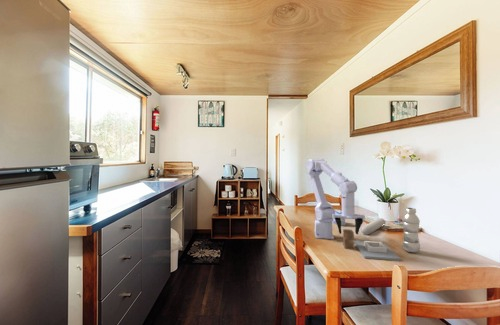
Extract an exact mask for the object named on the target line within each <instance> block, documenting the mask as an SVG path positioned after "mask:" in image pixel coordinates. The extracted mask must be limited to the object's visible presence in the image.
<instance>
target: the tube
mask: <svg viewBox="0 0 500 325" xmlns="http://www.w3.org/2000/svg"><path fill="white" fill-rule="evenodd" d="M383 224H385V225H386V220H385V219H384V218H382V217H378V218H377V219H375V220H373V221H371V222H369V223H367V224H364V225H363V226H362V227H360V228H361V231H360V232H361V233H362V234H363V235H366V236H369V235H370V234H372V233H374V232H376V231H377V230H379V229H380V227H381V226H382V225H383ZM382 227H383V226H382ZM382 227H381V228H382Z"/></svg>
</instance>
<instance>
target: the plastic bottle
mask: <svg viewBox="0 0 500 325" xmlns="http://www.w3.org/2000/svg"><path fill="white" fill-rule="evenodd" d="M416 213H417V210H416V208H414V207H406V208H405V214H404V215H403V216H402V219H401V220H402V227H403V239H402V248H403V250H405V251H407V252H410V253H412V254H415V253H419V252H420V250H421V244H420V240H419V238H420V237H419V228H420V221H421V220H420V218H419V217H418V216H417V214H416Z"/></svg>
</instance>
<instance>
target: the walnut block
mask: <svg viewBox="0 0 500 325" xmlns="http://www.w3.org/2000/svg"><path fill="white" fill-rule="evenodd" d="M354 234H355V231H353V230H352V229H347V228H343V229H342V245H343V248H344V249H350V250H353V249H355V248H354V246H355V244H354V241H355V238H354V237H355V236H354Z"/></svg>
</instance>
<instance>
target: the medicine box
mask: <svg viewBox="0 0 500 325" xmlns="http://www.w3.org/2000/svg"><path fill="white" fill-rule="evenodd" d="M334 211H335V214H341V213H342V209H334ZM332 223H334V224H335V225H337V223H336V221H335V219H333V221H332ZM343 226H346V219H341V227H343Z"/></svg>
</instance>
